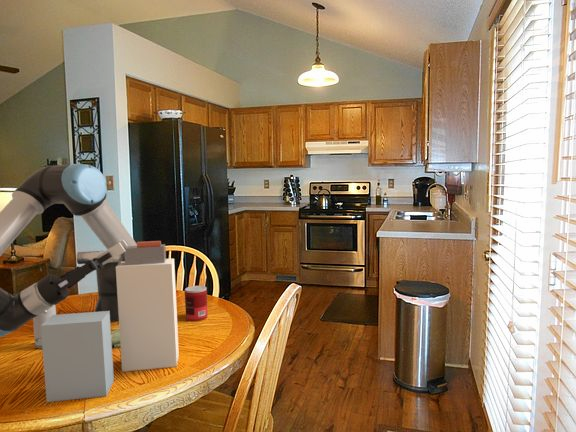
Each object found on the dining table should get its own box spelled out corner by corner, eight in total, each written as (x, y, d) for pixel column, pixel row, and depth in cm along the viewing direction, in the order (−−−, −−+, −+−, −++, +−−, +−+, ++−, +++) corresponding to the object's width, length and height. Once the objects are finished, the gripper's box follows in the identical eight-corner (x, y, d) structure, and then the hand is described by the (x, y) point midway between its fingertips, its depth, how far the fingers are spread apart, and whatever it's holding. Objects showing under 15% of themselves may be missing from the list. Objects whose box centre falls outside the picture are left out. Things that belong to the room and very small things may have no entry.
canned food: (210, 314, 163) (209, 285, 162) (204, 321, 155) (202, 291, 154) (190, 314, 163) (188, 285, 162) (183, 321, 155) (181, 291, 155)
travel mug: (34, 351, 132) (29, 285, 130) (35, 344, 137) (30, 281, 136) (58, 347, 134) (53, 282, 133) (58, 340, 140) (53, 278, 138)
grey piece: (81, 264, 118) (80, 243, 117) (166, 259, 121) (165, 239, 121) (76, 267, 113) (75, 246, 113) (164, 262, 117) (163, 242, 117)
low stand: (58, 385, 109) (53, 314, 107) (113, 380, 111) (109, 310, 109) (46, 402, 101) (40, 325, 99) (106, 395, 103) (101, 321, 101)
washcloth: (109, 336, 144) (109, 327, 143) (165, 328, 150) (164, 319, 150) (108, 351, 131) (108, 340, 131) (169, 341, 138) (168, 331, 137)
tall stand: (127, 359, 124) (121, 261, 121) (178, 354, 126) (174, 258, 124) (122, 371, 116) (115, 267, 113) (176, 366, 118) (171, 263, 116)
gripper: (65, 296, 124) (137, 251, 126) (41, 315, 107) (126, 263, 109) (49, 274, 123) (122, 230, 125) (23, 290, 106) (108, 238, 108)
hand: (124, 245), depth 117 cm, fingers closed on grey piece, 4 cm apart
